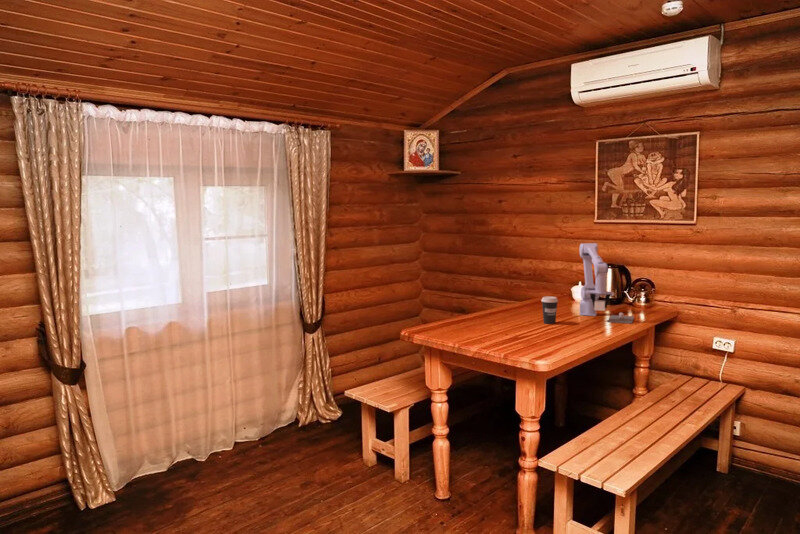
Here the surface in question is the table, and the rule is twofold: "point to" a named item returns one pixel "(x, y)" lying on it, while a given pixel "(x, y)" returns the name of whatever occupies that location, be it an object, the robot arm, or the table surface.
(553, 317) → the coffee cup
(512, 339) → the table surface
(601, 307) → the collar
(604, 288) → the robot arm
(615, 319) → the duct board
